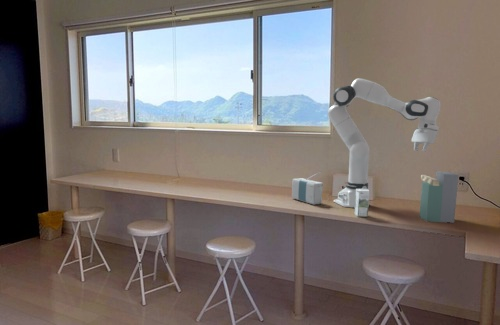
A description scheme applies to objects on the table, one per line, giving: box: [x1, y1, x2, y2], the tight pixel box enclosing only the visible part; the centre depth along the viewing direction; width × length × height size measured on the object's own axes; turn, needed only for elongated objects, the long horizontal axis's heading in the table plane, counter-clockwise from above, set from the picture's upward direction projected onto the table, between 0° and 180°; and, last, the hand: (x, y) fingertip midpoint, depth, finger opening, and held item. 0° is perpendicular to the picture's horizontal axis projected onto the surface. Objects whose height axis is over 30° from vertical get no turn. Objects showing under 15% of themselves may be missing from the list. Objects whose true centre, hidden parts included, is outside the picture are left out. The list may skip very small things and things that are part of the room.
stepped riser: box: [419, 170, 459, 224], centre depth 210 cm, size 10×14×25 cm
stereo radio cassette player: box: [291, 171, 324, 206], centre depth 247 cm, size 21×8×20 cm, turn 33°
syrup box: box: [353, 188, 370, 218], centre depth 216 cm, size 6×6×14 cm
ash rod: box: [420, 174, 440, 186], centre depth 214 cm, size 19×3×3 cm, turn 176°
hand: (419, 150), depth 223 cm, fingers open, 8 cm apart
